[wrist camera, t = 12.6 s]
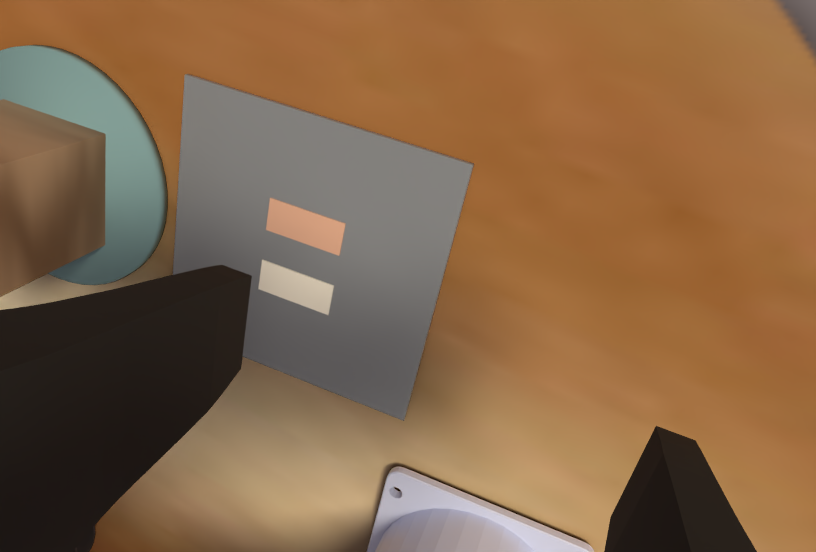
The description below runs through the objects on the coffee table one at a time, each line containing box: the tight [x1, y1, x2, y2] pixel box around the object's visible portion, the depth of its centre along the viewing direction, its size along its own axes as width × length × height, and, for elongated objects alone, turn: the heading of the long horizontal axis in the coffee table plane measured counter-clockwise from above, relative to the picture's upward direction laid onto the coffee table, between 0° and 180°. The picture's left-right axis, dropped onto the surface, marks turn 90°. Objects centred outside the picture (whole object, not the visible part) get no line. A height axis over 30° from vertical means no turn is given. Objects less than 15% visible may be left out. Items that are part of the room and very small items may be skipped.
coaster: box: [0, 45, 167, 285], centre depth 26 cm, size 9×9×1 cm
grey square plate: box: [173, 74, 474, 421], centre depth 24 cm, size 10×10×1 cm
